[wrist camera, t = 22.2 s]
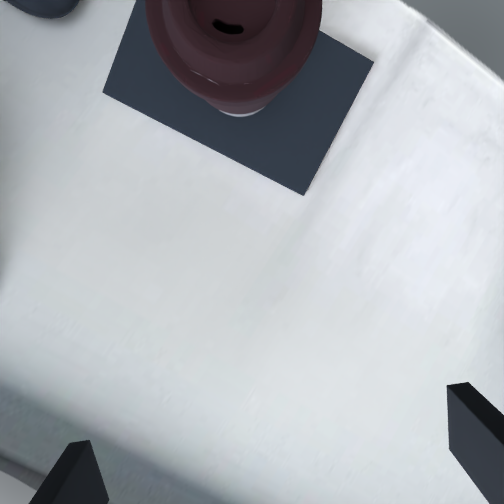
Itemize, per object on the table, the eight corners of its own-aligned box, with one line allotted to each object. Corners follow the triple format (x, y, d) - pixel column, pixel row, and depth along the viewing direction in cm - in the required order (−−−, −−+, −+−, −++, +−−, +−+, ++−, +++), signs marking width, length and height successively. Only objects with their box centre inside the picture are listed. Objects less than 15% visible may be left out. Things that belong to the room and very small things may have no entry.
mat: (104, 93, 32) (102, 92, 32) (161, -59, 29) (159, -63, 29) (302, 195, 35) (303, 195, 34) (372, 64, 32) (374, 61, 31)
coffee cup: (239, -8, 30) (232, -186, 15) (313, 78, 31) (369, -8, 17) (165, 76, 31) (93, -13, 17) (239, 153, 33) (232, 135, 18)
